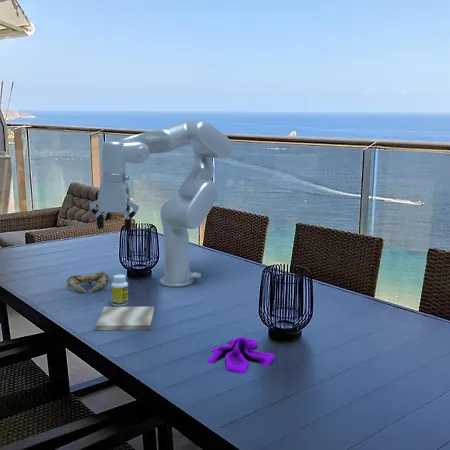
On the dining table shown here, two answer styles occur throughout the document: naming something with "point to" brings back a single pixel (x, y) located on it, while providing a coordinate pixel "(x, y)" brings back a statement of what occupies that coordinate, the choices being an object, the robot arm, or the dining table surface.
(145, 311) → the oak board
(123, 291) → the supplement bottle
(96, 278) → the crab model
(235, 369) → the cloth
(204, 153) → the robot arm
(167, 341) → the dining table surface
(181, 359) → the dining table surface
